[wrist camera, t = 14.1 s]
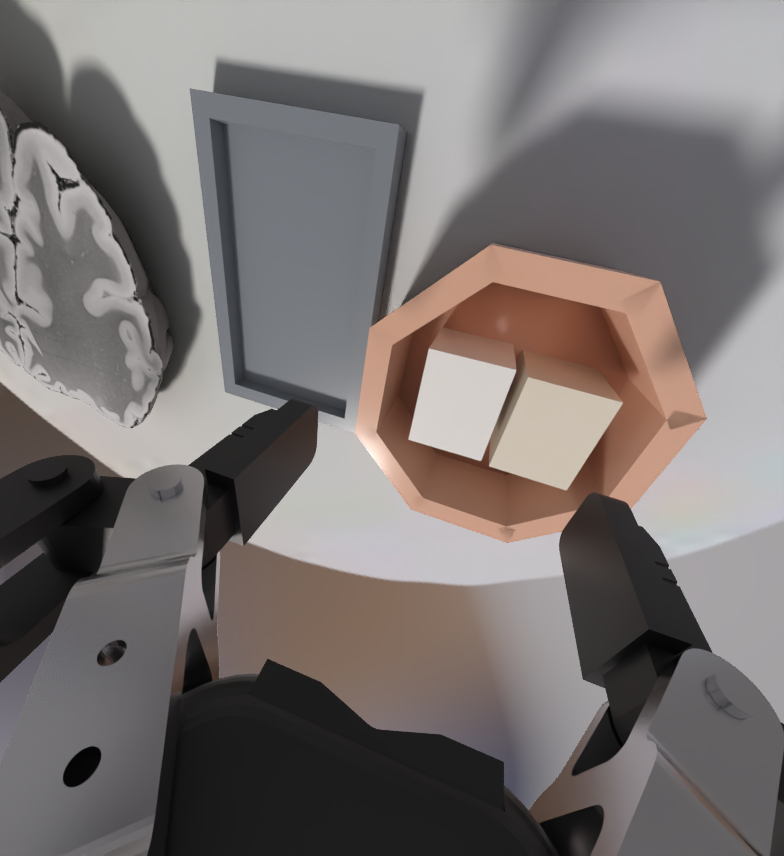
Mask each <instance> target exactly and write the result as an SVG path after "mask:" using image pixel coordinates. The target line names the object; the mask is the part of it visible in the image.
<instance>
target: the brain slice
mask: <svg viewBox="0 0 784 856" xmlns="http://www.w3.org/2000/svg"><path fill="white" fill-rule="evenodd" d="M169 326H170V323H169V319H168V315H167V312H166V309H165V308H164V306H163V304H162V303H161V301H160V299H159V298H158V297H157V296H155V295H154V294H152V292H151V288H150V284H149V281H148V279H147V277H146V273H145V271H144V269H143V267H142V264H141V262H140V260H139V258H138V255H137V253H136V251H135V249H134V247H133V245H132V243H131V240H130V238H129V236H128V234H127V232H126V230H125V228H124V226H123V224H122V222H121V221H120V219H119V218H118V216H117V215H116V213H115V212H114V211H113V209H112V208H111V207H110V206H109V204H108V203H107V201H106V200H105V199H104V197H103V196H102V195H100V194H99V193H98V192H97V191H96V190H95V188H94V187H93V186H92V185H91V184H90V183H89V182H88V180H87V179H86V178H85V177H84V175H83V174H82V173H81V172H80V171H79V170H78V168H77V165H76V163H75V162H74V160H73V158H72V157H71V155H70V154H69V152H68V150H67V149H66V148H65V146H64V145H63V144H62V143H61V142H60V141H59V139H58V138H57V137H56V136H55V135H54V134H53V133H52V132H51V131H50V130H49V129H47V128H46V127H45V126H43V125H42V124H40V123H37V122H32V121H31V120H30V119H29V117H28V116H27V115H26V114H25V113H24V112H23V111H22V110H21V109H20V107H19V106H18V105H17V104H16V103H15V102H14V101H12V100H11V99H10V98H9V97H8V96H6V95H5V94H4V93H3V92H2V91H0V350H1V351H2V352H3V353H4V354H5V355H6V356H7V357H8V358H9V359H10V360H11V361H12V362H14V363H15V364H17V365H18V366H23V367H24V369H25V371H26V372H27V373H29V374H30V375H32V376H33V377H34V378H35V379H37V380H38V381H39V382H40V383H42V384H43V385H44V386H46V387H47V388H48V389H51V390H53V391H56V392H60V393H63V394H65V395H67V396H69V397H72V398H75V399H79V400H81V401H83V402H85V403H87V404H89V405H91V406H92V407H93V408H95V409H96V410H97V411H99V412H100V413H102V414H103V415H105V416H106V417H108V418H109V419H111V420H113V421H114V422H116V423H117V424H119V425H121V426H123V427H126V428H133V427H135V426H137V425H139V424H140V423H142V422H143V421H144V419H145V418H146V417H147V415H148V414H149V413H150V412H151V410H152V408H153V405H154V403H155V401H156V398H157V394H158V391H159V387H160V384H161V382H162V379H163V376H162V374H163V371H164V370H165V369H166V367H167V364H168V362H169V359H170V356H171V353H172V350H173V339H172V336H171V335H170V334H168V332H167V329H168V328H169Z"/></svg>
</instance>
